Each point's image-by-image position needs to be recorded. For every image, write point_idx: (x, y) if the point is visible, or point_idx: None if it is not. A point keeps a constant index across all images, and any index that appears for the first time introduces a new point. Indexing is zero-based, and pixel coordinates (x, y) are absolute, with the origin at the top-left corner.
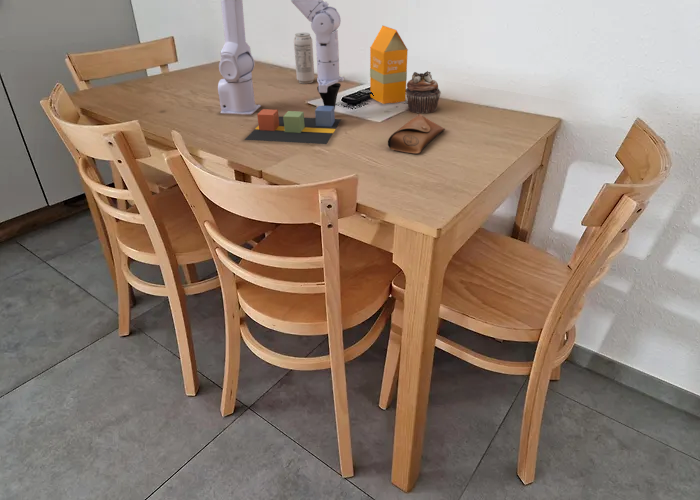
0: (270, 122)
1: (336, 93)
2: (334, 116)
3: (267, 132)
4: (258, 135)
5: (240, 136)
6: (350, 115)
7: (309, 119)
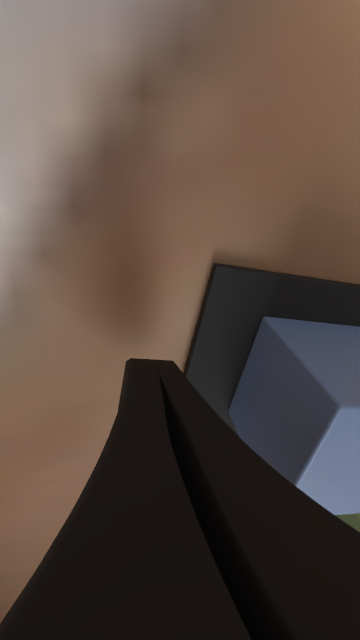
0: None
1: (284, 533)
2: (293, 339)
3: None
4: None
5: None
6: (61, 172)
7: None
